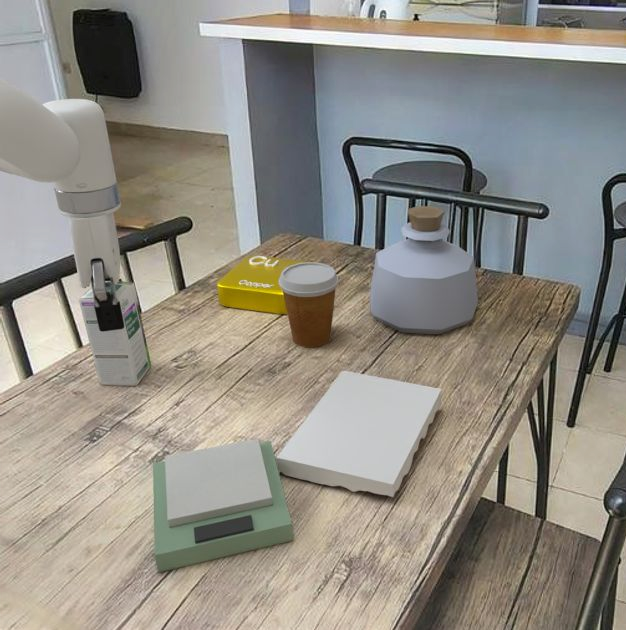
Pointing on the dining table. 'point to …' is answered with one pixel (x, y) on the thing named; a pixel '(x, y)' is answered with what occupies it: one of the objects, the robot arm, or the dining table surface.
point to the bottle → (424, 278)
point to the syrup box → (118, 339)
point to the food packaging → (361, 434)
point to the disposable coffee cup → (309, 301)
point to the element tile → (255, 285)
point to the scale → (218, 504)
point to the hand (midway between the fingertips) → (113, 316)
